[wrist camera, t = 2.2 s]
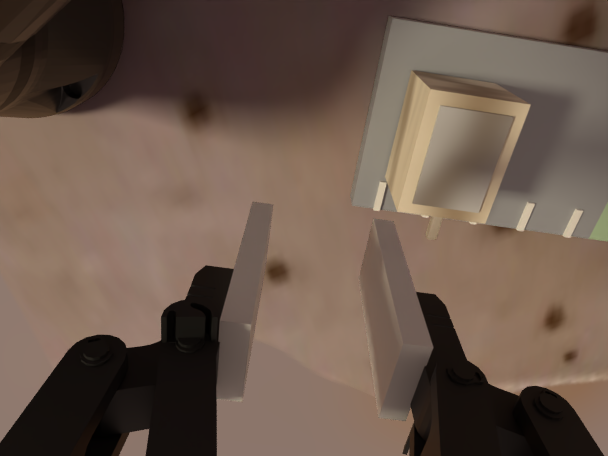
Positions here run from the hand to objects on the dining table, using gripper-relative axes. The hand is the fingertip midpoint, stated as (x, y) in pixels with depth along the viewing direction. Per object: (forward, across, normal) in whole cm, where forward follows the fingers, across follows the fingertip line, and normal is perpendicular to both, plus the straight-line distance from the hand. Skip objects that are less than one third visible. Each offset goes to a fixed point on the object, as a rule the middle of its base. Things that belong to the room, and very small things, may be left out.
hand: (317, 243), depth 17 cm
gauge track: (+21, +19, 0) cm, 28 cm away
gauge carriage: (+18, +9, -1) cm, 20 cm away
